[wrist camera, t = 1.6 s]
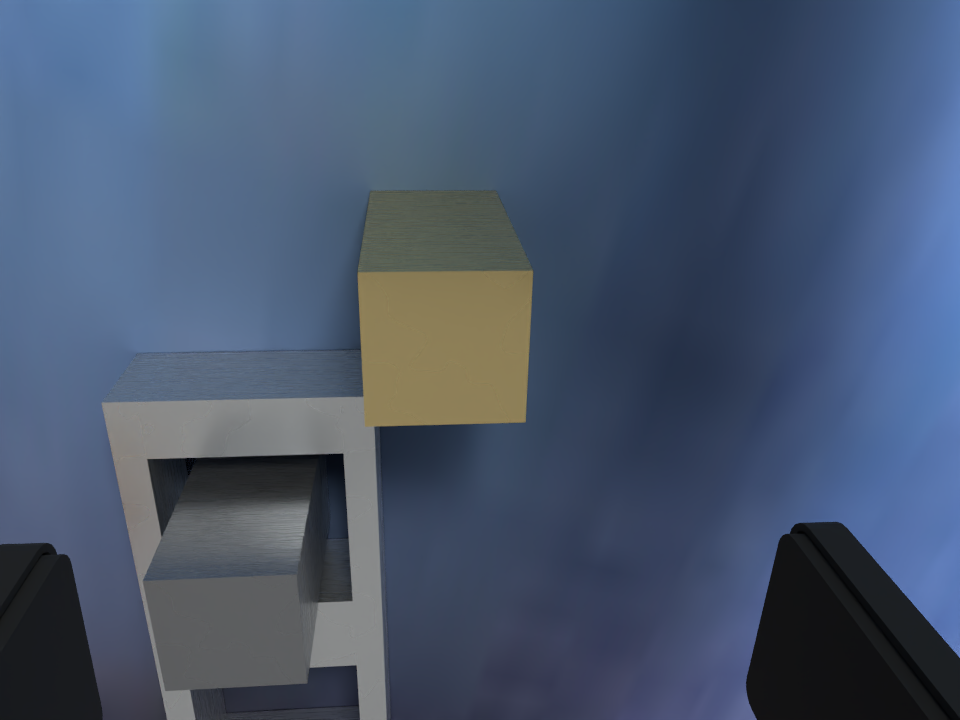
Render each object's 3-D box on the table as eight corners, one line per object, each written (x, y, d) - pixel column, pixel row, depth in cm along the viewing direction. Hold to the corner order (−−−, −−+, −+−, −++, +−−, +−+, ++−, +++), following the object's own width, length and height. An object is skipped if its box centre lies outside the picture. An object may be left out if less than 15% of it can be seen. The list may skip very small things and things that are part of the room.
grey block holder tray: (376, 349, 27) (373, 396, 24) (391, 736, 35) (390, 809, 32) (137, 353, 27) (101, 402, 23) (208, 747, 35) (188, 823, 31)
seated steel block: (323, 425, 28) (296, 574, 21) (330, 516, 30) (307, 683, 23) (209, 428, 28) (142, 581, 21) (222, 520, 30) (165, 690, 23)
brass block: (495, 190, 25) (533, 270, 18) (492, 306, 27) (525, 422, 20) (370, 190, 25) (357, 272, 18) (374, 308, 27) (364, 426, 19)
